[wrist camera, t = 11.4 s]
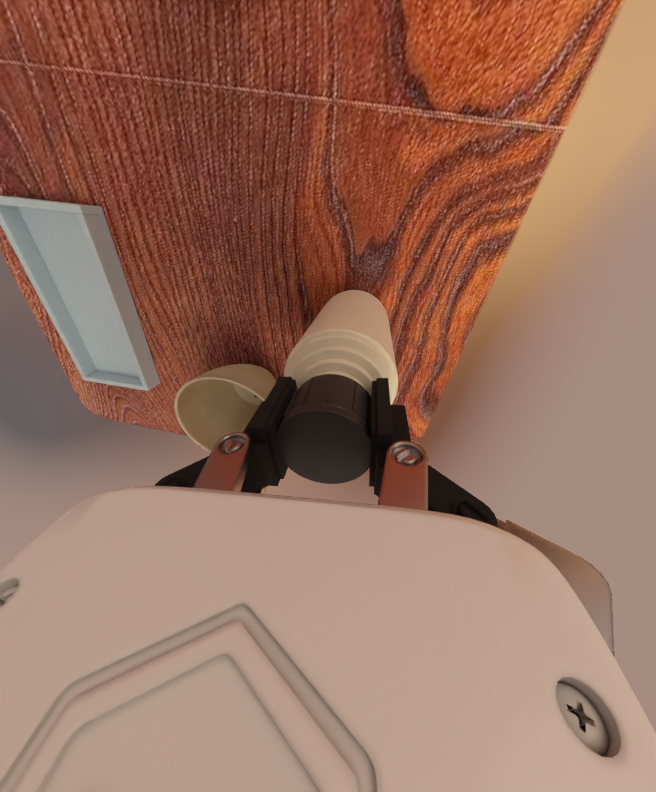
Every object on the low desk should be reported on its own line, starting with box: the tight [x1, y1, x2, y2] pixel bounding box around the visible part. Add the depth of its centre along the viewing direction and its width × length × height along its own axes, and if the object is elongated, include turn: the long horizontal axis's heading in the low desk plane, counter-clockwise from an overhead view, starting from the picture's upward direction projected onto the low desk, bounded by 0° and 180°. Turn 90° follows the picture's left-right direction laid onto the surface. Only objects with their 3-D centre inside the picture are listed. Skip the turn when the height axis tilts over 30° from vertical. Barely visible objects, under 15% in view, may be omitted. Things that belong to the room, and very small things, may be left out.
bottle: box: [284, 290, 398, 405], centre depth 17 cm, size 6×6×16 cm
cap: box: [276, 374, 372, 484], centre depth 11 cm, size 4×4×3 cm
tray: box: [0, 195, 160, 391], centre depth 25 cm, size 17×8×2 cm, turn 175°
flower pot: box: [174, 364, 277, 453], centre depth 26 cm, size 10×10×7 cm
